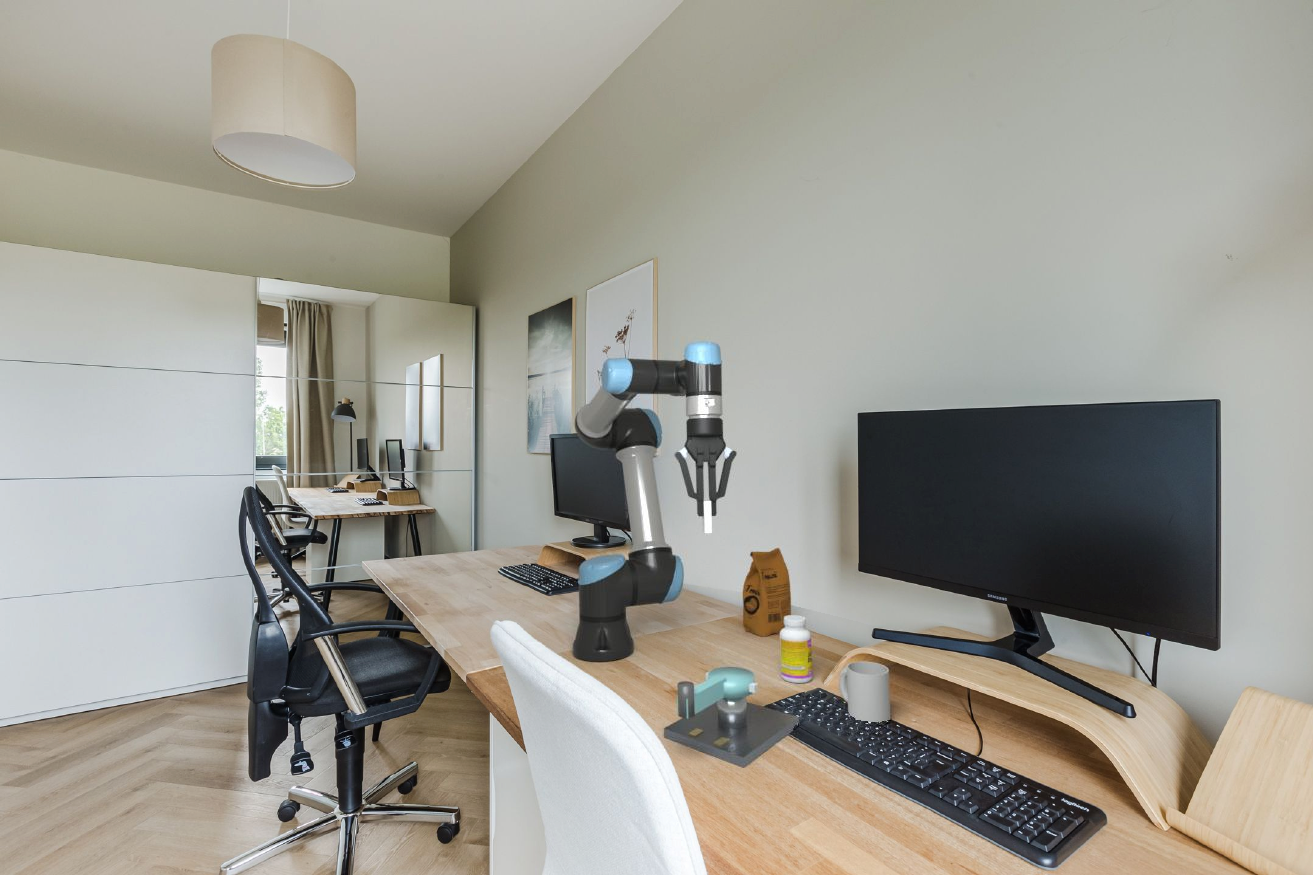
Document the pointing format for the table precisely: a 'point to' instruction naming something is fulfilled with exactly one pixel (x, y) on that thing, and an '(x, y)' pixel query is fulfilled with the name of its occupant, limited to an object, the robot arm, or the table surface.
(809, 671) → the supplement bottle
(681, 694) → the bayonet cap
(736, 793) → the table surface
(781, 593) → the coffee package
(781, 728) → the post base
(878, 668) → the cup
